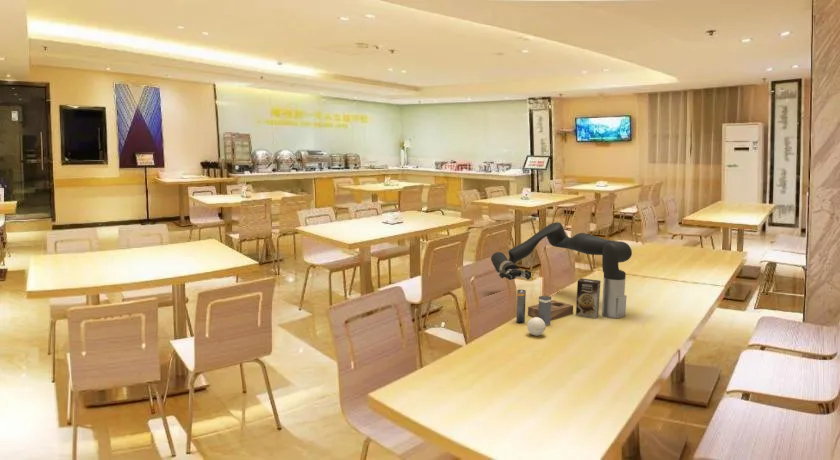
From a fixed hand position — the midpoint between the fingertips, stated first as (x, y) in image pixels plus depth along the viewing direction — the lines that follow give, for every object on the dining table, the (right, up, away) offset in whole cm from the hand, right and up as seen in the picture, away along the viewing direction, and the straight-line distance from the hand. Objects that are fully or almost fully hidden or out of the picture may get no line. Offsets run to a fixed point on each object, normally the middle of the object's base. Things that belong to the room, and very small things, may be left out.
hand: (519, 277), depth 270 cm
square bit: (+8, -19, -14) cm, 25 cm away
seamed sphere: (+3, -21, -28) cm, 35 cm away
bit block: (+14, -17, 0) cm, 22 cm away
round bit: (-1, -18, -11) cm, 22 cm away
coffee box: (+30, -17, -1) cm, 35 cm away
